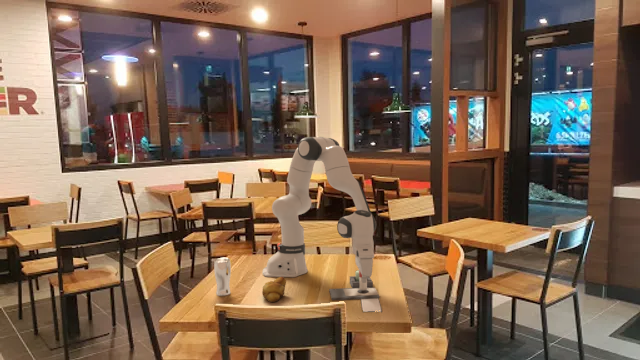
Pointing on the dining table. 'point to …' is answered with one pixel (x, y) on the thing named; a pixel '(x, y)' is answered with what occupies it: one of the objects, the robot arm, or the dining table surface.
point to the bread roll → (274, 289)
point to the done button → (357, 275)
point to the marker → (362, 285)
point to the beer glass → (222, 276)
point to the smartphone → (371, 305)
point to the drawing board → (353, 293)
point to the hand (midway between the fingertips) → (363, 280)
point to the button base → (356, 284)
